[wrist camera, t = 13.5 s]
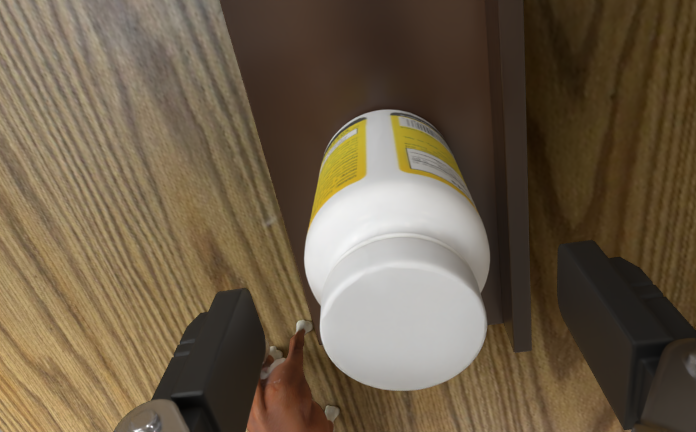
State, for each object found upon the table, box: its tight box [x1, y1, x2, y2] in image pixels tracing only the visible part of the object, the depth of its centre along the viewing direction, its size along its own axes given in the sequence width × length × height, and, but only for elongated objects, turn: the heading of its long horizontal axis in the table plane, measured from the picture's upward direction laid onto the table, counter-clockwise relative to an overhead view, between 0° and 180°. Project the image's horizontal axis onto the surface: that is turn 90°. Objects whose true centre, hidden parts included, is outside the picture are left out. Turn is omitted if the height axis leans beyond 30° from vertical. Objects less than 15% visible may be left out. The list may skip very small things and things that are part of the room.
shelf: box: [220, 0, 532, 353], centre depth 21 cm, size 10×18×6 cm, turn 11°
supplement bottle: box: [304, 110, 490, 391], centre depth 16 cm, size 5×5×10 cm
